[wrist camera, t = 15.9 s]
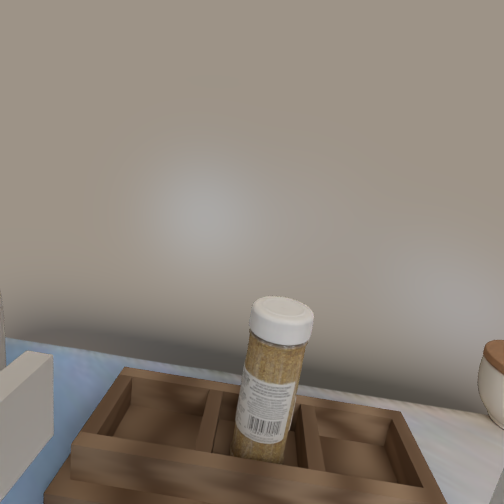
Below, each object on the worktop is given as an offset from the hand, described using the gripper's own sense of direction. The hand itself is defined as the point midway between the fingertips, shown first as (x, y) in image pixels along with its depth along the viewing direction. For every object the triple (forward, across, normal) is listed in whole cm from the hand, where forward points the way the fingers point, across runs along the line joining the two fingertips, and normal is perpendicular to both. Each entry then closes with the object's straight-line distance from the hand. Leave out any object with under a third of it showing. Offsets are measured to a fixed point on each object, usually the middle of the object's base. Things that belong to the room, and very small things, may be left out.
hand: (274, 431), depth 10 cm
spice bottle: (+16, +1, -17) cm, 23 cm away
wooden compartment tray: (+16, +1, -18) cm, 24 cm away
